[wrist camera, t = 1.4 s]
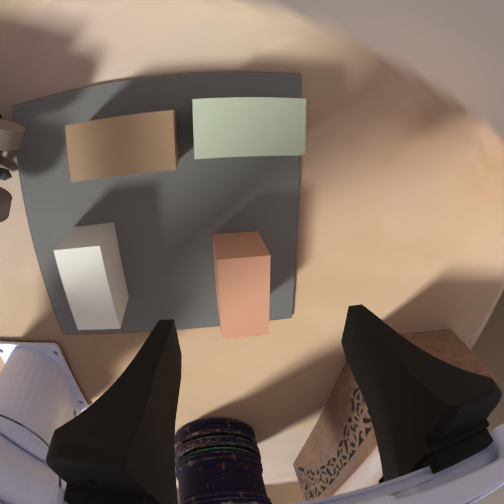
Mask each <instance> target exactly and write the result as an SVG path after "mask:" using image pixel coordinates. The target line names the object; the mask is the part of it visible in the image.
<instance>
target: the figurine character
mask: <svg viewBox="0 0 504 504" xmlns="http://www.w3.org/2000/svg"><path fill="white" fill-rule="evenodd" d="M1 116H2V115H0V151H17V150H19V149H20V146H21V143H22V139H23V136H24V133H25V130H26V129H25V128H24V127H23V126H22V125H20V124H17V123H15V122H12V121H8V120H5V119H1ZM11 177H12V176H11V174H10V172H9V170H7V169H4V168H1V167H0V179H1V180H4V181H5V180H7V179H9V178H11ZM11 201H12V196H11V194H10V193H9V192H8V191H7V190H5V189H3V188H1V187H0V222H2V221H4V220H6V219H7V218H8V216H9V211H10V206H11Z"/></svg>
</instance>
